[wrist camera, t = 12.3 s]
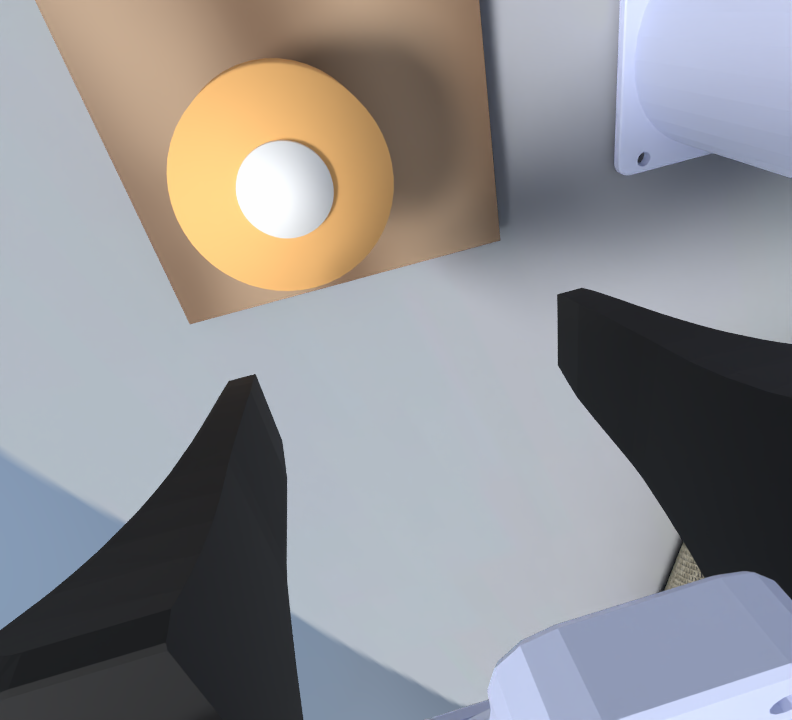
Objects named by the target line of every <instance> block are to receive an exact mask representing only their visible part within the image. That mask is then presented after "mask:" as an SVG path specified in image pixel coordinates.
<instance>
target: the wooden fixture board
mask: <svg viewBox="0 0 792 720" xmlns="http://www.w3.org/2000/svg"><path fill="white" fill-rule="evenodd" d="M35 1H36V3H37V5H38V8H39V10H40V12H41V14H42V16H43V18H44V20H45V22H46V24H47V26H48V28H49V31H50V33H51V35H52V37H53V39H54V41H55V43H56V45H57V47H58V49H59V51H60V54H61V56H62V58H63V60H64V62H65V64H66V66H67V68H68V70H69V72H70V74H71V77H72V79H73V81H74V83H75V85H76V87H77V89H78V91H79V93H80V95H81V97H82V100H83V102H84V104H85V106H86V108H87V110H88V112H89V114H90V116H91V118H92V120H93V123H94V125H95V127H96V129H97V131H98V133H99V135H100V137H101V139H102V141H103V143H104V146H105V148H106V150H107V152H108V154H109V156H110V158H111V160H112V162H113V164H114V166H115V169H116V171H117V173H118V175H119V177H120V179H121V181H122V183H123V185H124V187H125V189H126V192H127V194H128V196H129V198H130V200H131V202H132V204H133V206H134V208H135V210H136V212H137V215H138V217H139V219H140V221H141V223H142V225H143V227H144V229H145V231H146V233H147V235H148V238H149V240H150V242H151V244H152V246H153V248H154V250H155V252H156V254H157V256H158V258H159V261H160V263H161V265H162V267H163V269H164V271H165V273H166V275H167V277H168V279H169V281H170V284H171V286H172V288H173V290H174V292H175V294H176V296H177V298H178V300H179V302H180V304H181V307H182V309H183V311H184V313H185V315H186V317H187V319H188V321H189V323H190V324H193V323H196V322H200V321H204V320H207V319H211V318H215V317H218V316H222V315H226V314H230V313H233V312H237V311H241V310H244V309H248V308H252V307H255V306H259V305H263V304H267V303H270V302H274V301H278V300H281V299H285V298H289V297H293V296H296V295H300V294H304V293H307V292H311V291H315V290H318V289H322V288H326V287H330V286H333V285H337V284H341V283H344V282H348V281H352V280H355V279H359V278H363V277H367V276H370V275H374V274H378V273H381V272H385V271H389V270H392V269H396V268H400V267H404V266H407V265H411V264H415V263H418V262H422V261H426V260H429V259H433V258H437V257H441V256H444V255H448V254H452V253H455V252H459V251H463V250H466V249H470V248H474V247H478V246H481V245H485V244H489V243H492V242H496V241H500V231H499V220H498V209H497V197H496V186H495V175H494V163H493V152H492V141H491V130H490V118H489V107H488V96H487V84H486V73H485V62H484V50H483V39H482V28H481V16H480V5H479V0H35ZM263 58H281V59H288V60H294V61H298V62H301V63H305V64H308V65H310V66H312V67H315V68H317V69H319V70H321V71H323V72H325V73H326V74H328V75H330V76H331V77H333V78H334V79H335V80H337V81H338V82H339V83H340V84H342V85H343V86H344V87H345V88H346V89H347V90H348V91H349V92H350V93H351V94H353V95H354V96H355V97H356V98H357V99H358V101H359V102H360V103H361V104H362V105H363V106H364V107H365V108H366V109H367V110H368V112H369V113H370V115H371V116H372V117H373V119H374V120H375V122H376V123H377V125H378V127H379V129H380V131H381V132H382V134H383V137H384V139H385V142H386V144H387V147H388V150H389V153H390V157H391V161H392V168H393V175H394V193H393V201H392V207H391V211H390V215H389V218H388V221H387V223H386V226H385V228H384V231H383V233H382V235H381V236H380V238H379V240H378V242H377V243H376V245H375V246H374V247H373V249H372V250H371V252H370V253H369V254H368V255H367V256H366V257H365V258H364V259H363V260H362V261H361V262H360V263H359V264H358V265H357V266H356V267H354V268H353V269H352V270H351V271H349V272H348V273H346V274H345V275H343V276H341V277H340V278H338V279H336V280H334V281H331V282H329V283H327V284H324V285H321V286H318V287H315V288H310V289H305V290H296V291H276V290H269V289H263V288H259V287H255V286H251V285H248V284H246V283H243V282H241V281H238V280H236V279H234V278H232V277H231V276H229V275H227V274H225V273H223V272H222V271H221V270H219V269H218V268H216V267H215V266H213V265H212V264H211V263H210V262H209V261H208V260H207V259H205V258H204V257H203V256H202V255H201V254H200V253H199V252H198V250H197V249H196V248H195V247H194V246H193V245H192V243H191V242H190V240H189V239H188V238H187V236H186V235H185V233H184V232H183V230H182V228H181V226H180V224H179V222H178V220H177V218H176V215H175V213H174V210H173V207H172V204H171V200H170V196H169V191H168V184H167V157H168V152H169V147H170V142H171V139H172V137H173V134H174V131H175V128H176V126H177V124H178V122H179V120H180V119H181V117H182V115H183V113H184V112H185V110H186V109H187V108H188V106H189V105H190V104H191V102H192V101H193V100H194V98H195V97H196V96H197V94H198V93H199V92H200V91H201V89H202V88H203V87H204V86H205V85H206V84H207V83H209V82H210V81H211V80H212V79H213V78H215V77H216V76H217V75H219V74H220V73H222V72H223V71H225V70H227V69H229V68H231V67H233V66H235V65H238V64H241V63H244V62H247V61H251V60H257V59H263Z"/></svg>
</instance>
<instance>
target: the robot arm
mask: <svg viewBox="0 0 792 720" xmlns="http://www.w3.org/2000/svg"><path fill="white" fill-rule="evenodd" d="M643 152H644V158H643V160H642V161H641V162H640V163H638V162H637V160H638V157H639V156H640V154H641V153H643ZM712 153H714V154H717V155H720V156H723V157H726V158H730V159H733V160H736V161H739V162H742V163H745V164H748V165H751V166H755V167H758V168H761V169H764V170H767V171H770V172H773V173H777V174H780V175H783V176H786V177H789V178H792V0H620V14H619V42H618V70H617V99H616V127H615V155H614V165H615V169H616V171H617V172H619V173H621V174H623V175H625V176H626V175H633V174H637V173H641V172H644V171H648V170H652V169H656V168H659V167H663V166H667V165H671V164H674V163H678V162H682V161H686V160H689V159H693V158H697V157H701V156H704V155H708V154H712ZM557 304H558V366H559V368H560V369H561V371H562V373H563V375H564V376H565V378H566V380H567V382H568V383H569V385H570V386H571V388H572V390H573V391H574V393H575V394H576V396H577V398H578V399H579V400H580V401H581V403H582V404H583V405H584V406H585V408H586V409H587V410H588V411H589V413H590V414H591V415H592V416H593V417H594V419H595V420H596V421H597V422H598V424H599V425H600V426H601V427H602V428H603V430H604V431H605V432H606V433H607V434H608V436H609V437H610V438H611V439H612V440H613V442H614V443H615V444H616V445H617V446H618V448H619V449H620V450H621V451H622V452H623V454H624V455H625V456H626V457H627V458H628V460H629V461H630V462H631V463H632V465H633V466H634V467H635V469H636V470H637V471H638V472H639V474H640V475H641V476H642V478H643V479H644V481H645V482H646V484H647V485H648V487H649V488H650V490H651V491H652V493H653V494H654V496H655V497H656V499H657V501H658V502H659V504H660V505H661V507H662V508H663V510H664V511H665V513H666V514H667V516H668V518H669V519H670V521H671V523H672V524H673V526H674V527H675V529H676V531H677V532H678V534H679V535H680V537H681V539H682V540H683V542H684V544H685V545H686V547H687V548H688V550H689V552H690V554H691V555H692V557H693V559H694V561H695V562H696V564H697V566H698V568H699V569H700V571H701V573H702V575H703V576H704V579H701V580H698V581H694V582H691V583H688V584H685V585H682V586H678V587H675V588H672V589H669V590H665V591H662V592H659V593H656V594H653V595H649V596H646V597H643V598H640V599H636V600H633V601H630V602H627V603H624V604H620V605H617V606H614V607H611V608H607V609H604V610H601V611H598V612H595V613H591V614H588V615H585V616H582V617H578V618H575V619H572V620H569V621H566V622H562V623H559V624H556V625H553V626H551V627H549V628H547V629H545V630H542V631H540V632H538V633H536V634H534V635H532V636H530V637H527V638H525V639H523V640H521V641H520V642H519V643H518V644H517V645H515V646H514V647H513V648H512V649H511V650H510V651H509V652H508V653H507V654H505V655H504V656H503V657H502V658H501V659H500V660H499V661H498V662H497V664H496V666H495V668H494V671H493V674H492V677H491V681H490V684H489V687H488V690H487V691H488V697H489V699H488V700H485V701H482V702H479V703H476V704H473V705H470V706H466V707H463V708H460V709H457V710H454V711H451V712H448V713H445V714H441V715H438V716H435V717H432V718H429V719H426V720H792V344H787V343H780V342H774V341H768V340H762V339H757V338H752V337H747V336H743V335H738V334H733V333H728V332H724V331H720V330H716V329H712V328H708V327H704V326H701V325H697V324H694V323H690V322H687V321H683V320H680V319H677V318H673V317H670V316H667V315H664V314H661V313H658V312H655V311H652V310H649V309H646V308H643V307H640V306H637V305H634V304H631V303H628V302H625V301H623V300H620V299H617V298H614V297H611V296H608V295H605V294H602V293H599V292H596V291H592V290H588V289H584V288H580V289H576V290H572V291H569V292H565V293H561V294H557ZM286 562H287V474H286V466H285V458H284V451H283V444H282V439H281V437H280V434H279V432H278V429H277V427H276V424H275V422H274V419H273V417H272V414H271V412H270V409H269V407H268V404H267V402H266V399H265V397H264V394H263V392H262V389H261V387H260V384H259V382H258V379H257V377H256V374H254V375H250V376H246V377H243V378H239V379H235V380H231V381H229V382H228V383H227V385H226V387H225V388H224V390H223V391H222V393H221V395H220V396H219V398H218V400H217V401H216V403H215V405H214V407H213V408H212V410H211V412H210V413H209V415H208V417H207V418H206V420H205V422H204V423H203V425H202V427H201V428H200V430H199V431H198V433H197V435H196V436H195V438H194V439H193V441H192V443H191V444H190V445H189V447H188V448H187V450H186V451H185V453H184V454H183V455H182V457H181V458H180V460H179V461H178V463H177V464H176V465H175V467H174V468H173V470H172V471H171V472H170V474H169V475H168V476H167V478H166V479H165V480H164V481H163V483H162V484H161V485H160V486H159V488H158V489H157V490H156V491H155V492H154V493H153V495H152V496H151V497H150V498H149V499H148V500H147V502H146V503H145V504H144V505H143V506H142V507H141V508H140V510H139V511H138V512H137V513H136V514H135V515H134V516H133V517H132V518H131V519H130V520H129V521H128V522H127V523H126V524H125V525H124V526H123V527H122V528H121V529H120V530H119V531H118V532H117V533H116V534H115V535H114V536H113V537H112V538H111V539H110V540H109V541H108V542H107V543H106V544H105V545H104V546H103V547H102V548H101V549H100V550H99V551H98V552H97V553H96V554H94V555H93V556H92V557H91V558H90V559H89V560H88V561H87V562H86V563H84V564H83V565H82V566H81V567H80V568H79V569H78V570H77V571H75V572H74V573H73V574H72V575H71V576H69V577H68V578H67V579H66V580H65V581H63V582H62V583H61V584H60V585H59V586H57V587H56V588H55V589H54V590H53V591H51V592H50V593H49V594H48V595H46V596H45V597H44V598H42V599H41V600H40V601H39V602H37V603H36V604H35V605H33V606H32V607H31V608H29V609H28V610H27V611H25V612H24V613H23V614H21V615H20V616H19V617H17V618H16V619H15V620H13V621H12V622H11V623H9V624H8V625H7V626H5V627H4V628H3V629H1V630H0V720H303V714H302V707H301V699H300V691H299V684H298V676H297V669H296V660H295V651H294V642H293V635H292V625H291V615H290V605H289V596H288V586H287V564H286Z"/></svg>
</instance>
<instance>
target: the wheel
mask: <svg viewBox="0 0 792 720" xmlns="http://www.w3.org/2000/svg"><path fill="white" fill-rule="evenodd" d="M167 184H168V191H169V196H170V200H171V204H172V207H173V210H174V213H175V215H176V218H177V220H178V222H179V224H180V226H181V228H182V230H183V232H184V233H185V235H186V236H187V238H188V239H189V240H190V242H191V243H192V245H193V246H194V247H195V248H196V249H197V250H198V252H199V253H200V254H201V255H202V256H203V257H204V258H205V259H207V260H208V261H209V262H210V263H211V264H212V265H213V266H215V267H216V268H218V269H219V270H221V271H222V272H223V273H225V274H227V275H229V276H231V277H232V278H234V279H236V280H238V281H241V282H243V283H246V284H248V285H251V286H255V287H259V288H263V289H269V290H276V291H296V290H305V289H310V288H315V287H318V286H321V285H324V284H327V283H329V282H331V281H334V280H336V279H338V278H340V277H341V276H343V275H345V274H346V273H348V272H349V271H351V270H352V269H353V268H354V267H356V266H357V265H358V264H359V263H360V262H361V261H362V260H363V259H364V258H365V257H366V256H367V255H368V254H369V253H370V252H371V250H372V249H373V247H374V246H375V245H376V243H377V242H378V240H379V238H380V236H381V235H382V233H383V231H384V228H385V226H386V223H387V221H388V218H389V215H390V211H391V207H392V201H393V193H394V175H393V168H392V161H391V157H390V153H389V150H388V147H387V144H386V142H385V139H384V137H383V134H382V132H381V131H380V129H379V127H378V125H377V123H376V122H375V120H374V119H373V117H372V116H371V115H370V113H369V112H368V110H367V109H366V108H365V107H364V106H363V105H362V104H361V103H360V102H359V101H358V99H357V98H356V97H355V96H354V95H353V94H351V93H350V92H349V91H348V90H347V89H346V88H345V87H344V86H343V85H342V84H340V83H339V82H338V81H337V80H335V79H334V78H333V77H331V76H330V75H328V74H326V73H325V72H323V71H321V70H319V69H317V68H315V67H312V66H310V65H308V64H305V63H301V62H298V61H294V60H288V59H281V58H263V59H257V60H251V61H247V62H244V63H241V64H238V65H235V66H233V67H231V68H229V69H227V70H225V71H223V72H222V73H220V74H219V75H217V76H216V77H215V78H213V79H212V80H211V81H210V82H209V83H207V84H206V85H205V86H204V87H203V88H202V89H201V91H200V92H199V93H198V94H197V96H196V97H195V98H194V100H193V101H192V102H191V104H190V105H189V106H188V108H187V109H186V110H185V112H184V113H183V115H182V117H181V119H180V120H179V122H178V124H177V126H176V128H175V131H174V134H173V137H172V139H171V142H170V147H169V152H168V157H167Z"/></svg>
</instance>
